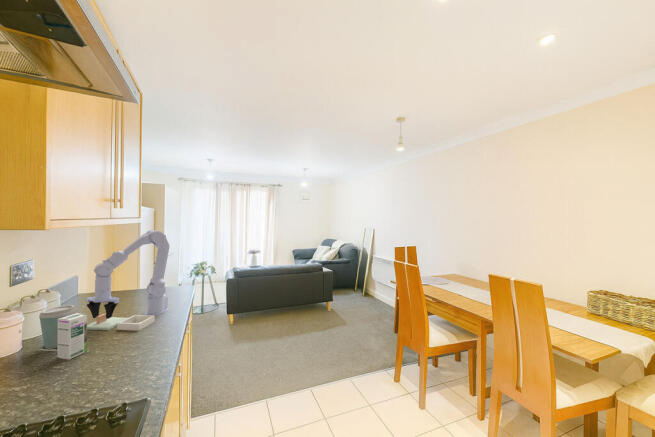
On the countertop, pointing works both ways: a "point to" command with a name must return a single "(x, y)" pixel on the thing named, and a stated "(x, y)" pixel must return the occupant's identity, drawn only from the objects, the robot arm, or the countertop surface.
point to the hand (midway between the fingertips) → (102, 317)
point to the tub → (136, 322)
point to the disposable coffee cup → (53, 323)
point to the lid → (104, 322)
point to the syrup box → (72, 336)
